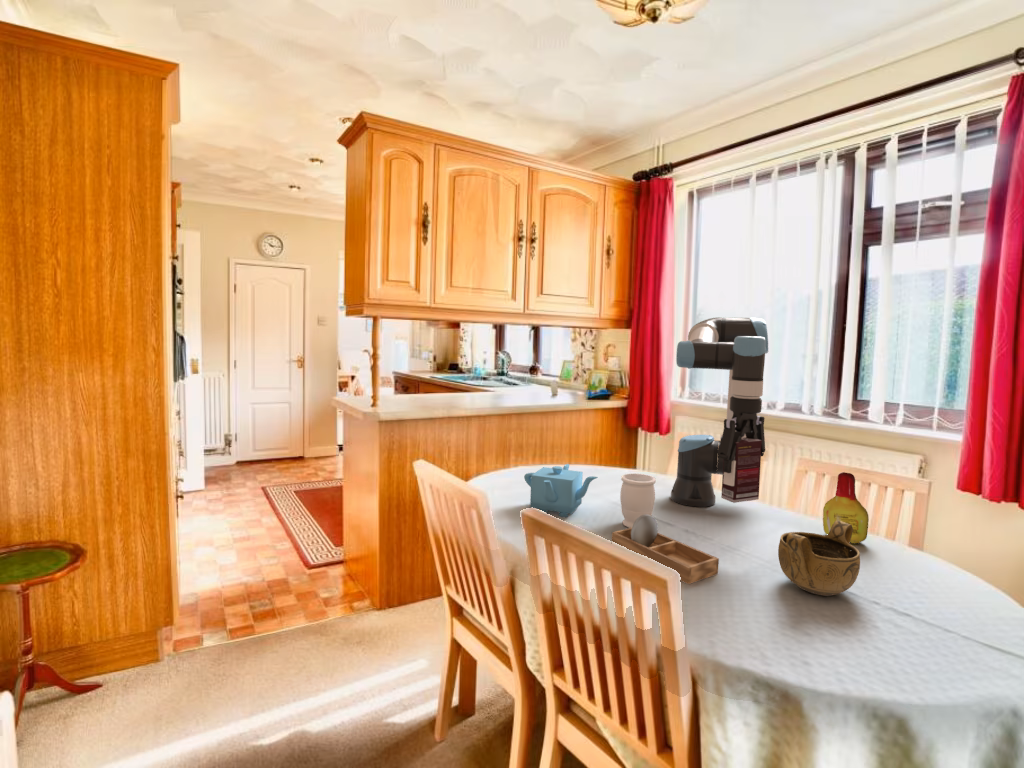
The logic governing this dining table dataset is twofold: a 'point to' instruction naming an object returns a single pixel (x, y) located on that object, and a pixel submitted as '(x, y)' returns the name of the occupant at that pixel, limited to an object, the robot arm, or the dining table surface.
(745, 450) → the supplement box
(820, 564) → the ceramic bowl
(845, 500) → the bottle
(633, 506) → the jar
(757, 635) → the dining table surface
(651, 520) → the tray
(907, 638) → the dining table surface
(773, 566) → the dining table surface
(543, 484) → the teakettle
